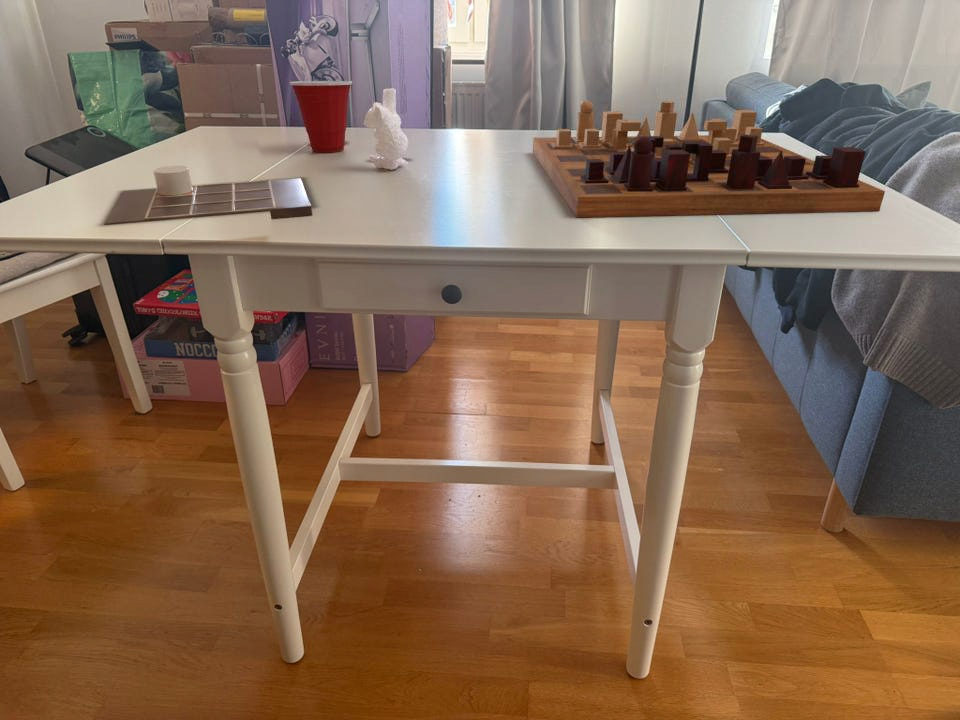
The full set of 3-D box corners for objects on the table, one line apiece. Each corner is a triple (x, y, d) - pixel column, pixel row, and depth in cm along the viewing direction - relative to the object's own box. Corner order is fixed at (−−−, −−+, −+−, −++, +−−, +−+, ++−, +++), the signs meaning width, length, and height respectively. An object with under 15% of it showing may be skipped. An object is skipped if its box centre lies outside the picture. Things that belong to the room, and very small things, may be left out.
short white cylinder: (156, 196, 90) (151, 173, 88) (159, 188, 93) (154, 166, 92) (191, 194, 91) (187, 171, 89) (193, 186, 94) (189, 164, 93)
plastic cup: (361, 143, 128) (355, 75, 123) (354, 155, 119) (348, 82, 113) (303, 144, 128) (295, 76, 122) (292, 156, 118) (283, 82, 113)
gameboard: (749, 149, 123) (759, 96, 118) (879, 210, 88) (900, 138, 83) (532, 152, 120) (534, 98, 116) (576, 217, 85) (581, 142, 81)
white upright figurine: (380, 160, 115) (375, 85, 109) (418, 162, 113) (414, 86, 108) (361, 172, 108) (354, 91, 102) (401, 174, 106) (396, 93, 100)
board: (106, 233, 80) (103, 222, 79) (124, 199, 93) (122, 190, 93) (312, 215, 86) (311, 205, 86) (301, 186, 100) (300, 177, 99)
